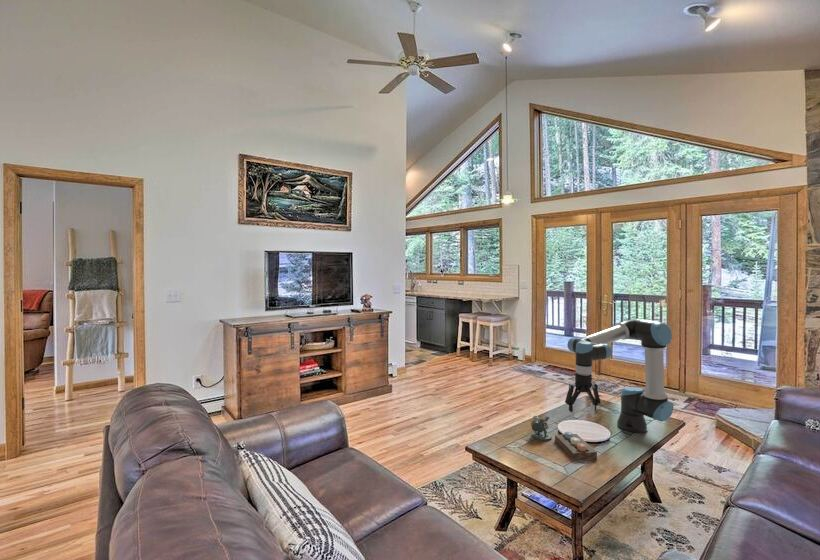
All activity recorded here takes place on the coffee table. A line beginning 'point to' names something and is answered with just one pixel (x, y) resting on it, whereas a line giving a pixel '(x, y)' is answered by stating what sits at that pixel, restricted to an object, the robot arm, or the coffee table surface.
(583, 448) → the button terracotta
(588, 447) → the button board
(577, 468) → the coffee table surface
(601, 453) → the coffee table surface
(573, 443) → the button cream
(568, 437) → the button slate
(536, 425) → the figurine
